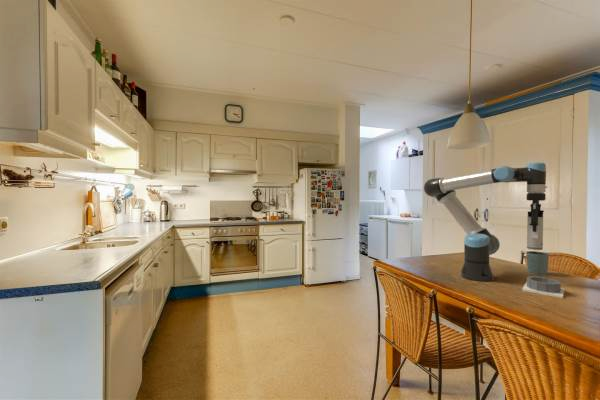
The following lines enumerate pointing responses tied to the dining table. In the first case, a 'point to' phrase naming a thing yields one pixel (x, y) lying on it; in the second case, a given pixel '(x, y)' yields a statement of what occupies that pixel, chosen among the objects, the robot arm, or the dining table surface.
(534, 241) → the travel mug
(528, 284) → the cup holder
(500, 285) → the dining table surface
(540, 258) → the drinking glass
